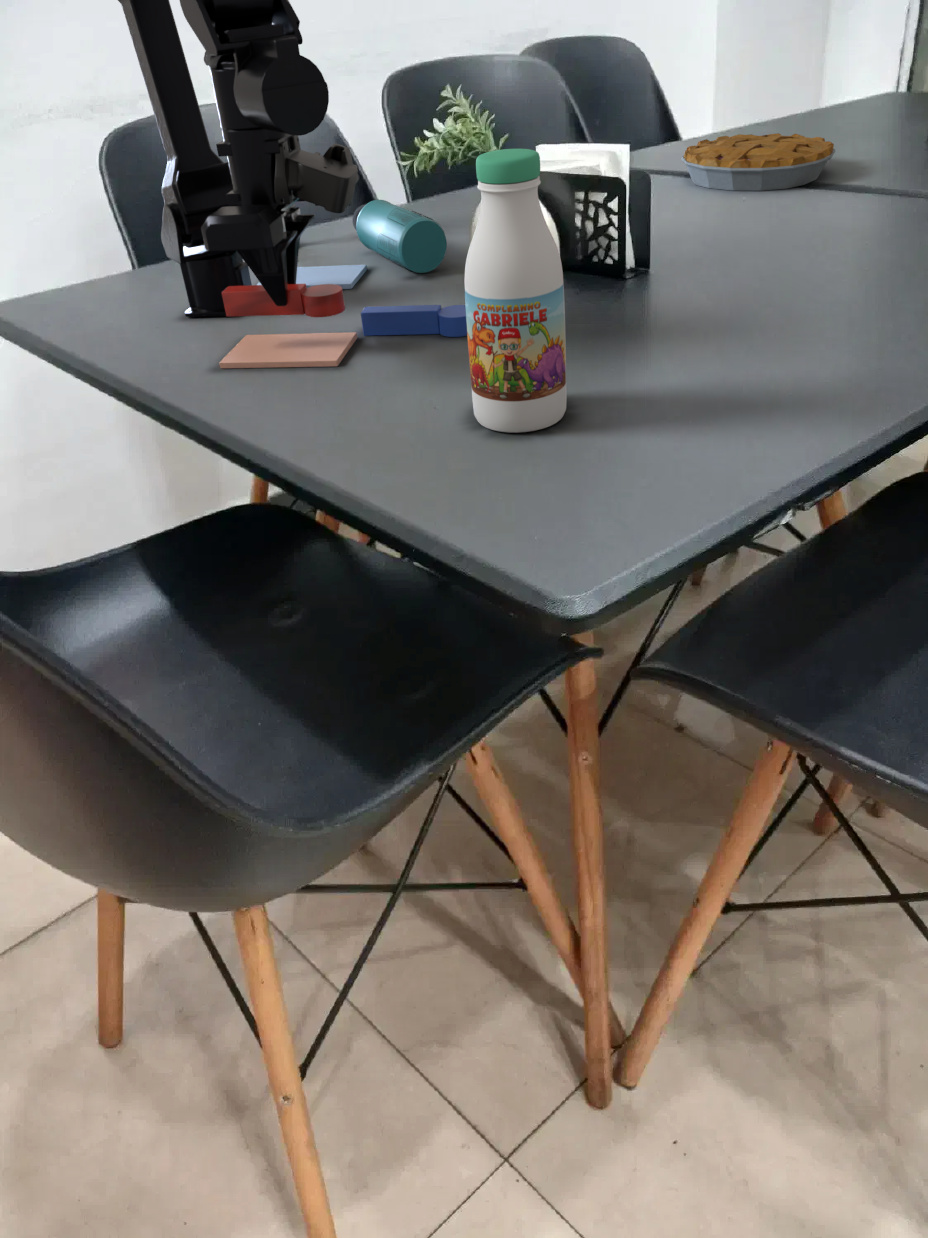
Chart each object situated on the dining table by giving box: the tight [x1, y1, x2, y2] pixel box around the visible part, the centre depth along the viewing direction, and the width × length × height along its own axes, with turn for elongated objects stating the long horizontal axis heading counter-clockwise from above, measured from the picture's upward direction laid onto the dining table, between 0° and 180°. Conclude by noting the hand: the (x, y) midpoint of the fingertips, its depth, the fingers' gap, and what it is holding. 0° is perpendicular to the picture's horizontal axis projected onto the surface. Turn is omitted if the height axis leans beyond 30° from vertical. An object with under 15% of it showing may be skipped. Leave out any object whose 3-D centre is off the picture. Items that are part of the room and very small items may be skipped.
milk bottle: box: [464, 148, 568, 433], centre depth 75 cm, size 8×8×20 cm
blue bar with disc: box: [360, 304, 468, 338], centre depth 99 cm, size 12×4×2 cm, turn 81°
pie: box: [680, 132, 836, 192], centre depth 144 cm, size 22×22×5 cm
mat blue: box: [256, 264, 368, 290], centre depth 118 cm, size 12×8×1 cm, turn 81°
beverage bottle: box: [352, 199, 448, 275], centre depth 121 cm, size 6×7×20 cm
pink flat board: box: [218, 331, 359, 369], centre depth 98 cm, size 12×8×1 cm, turn 81°
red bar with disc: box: [222, 284, 346, 318], centre depth 95 cm, size 12×4×2 cm, turn 81°
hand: (285, 301), depth 95 cm, fingers closed on red bar with disc, 2 cm apart
